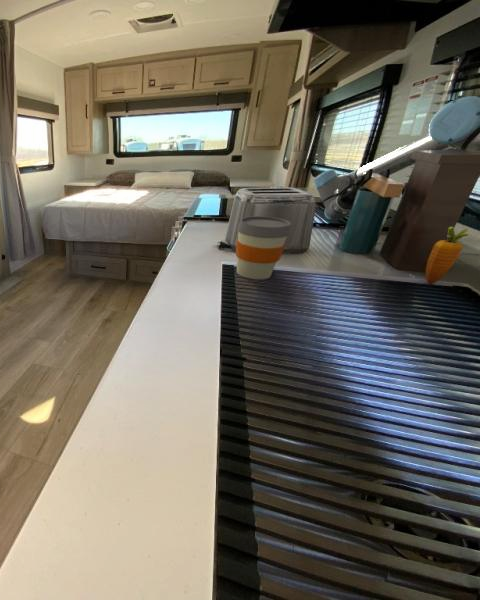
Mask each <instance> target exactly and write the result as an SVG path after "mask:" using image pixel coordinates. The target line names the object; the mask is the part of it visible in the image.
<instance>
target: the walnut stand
mask: <svg viewBox="0 0 480 600" xmlns="http://www.w3.org/2000/svg"><path fill="white" fill-rule="evenodd" d="M411 158H412V159H417V160H416V162H415V164H414V165H413V166H412V167H413V168H412V170H411V173H410V174H409V178H408V180H407V182H406V185H405V188H404V189H403V193H402V194H401V198H400V200H399V202H398V206H397V207H396V211H395V213H394V216H393V217H392V221H391V223H390V224H389V225H390V226H389V228H388V231H387V233H386V236H385V238H384V241H383V243H382V246H381V248H380V251H379V255H380V256H381V257H382V258H383V259H384V260H385V261H386V262H388V263H389V265H390V266H392V268H394V269H395V270H400V271H411V272H420V273H421V272H422V273H426V266H427V262H428V259H429V256H430V254H431V251H432V249H433V247H434V245H435V244H436V243H437V242H438V241H441V240H447V239H448V238H447V236H448V229H449V227H454V228H455V227H456V225H457V224H458V221H459V219H460V218H461V216H462V213H463V211H464V209H465V207H466V204H467V203H468V201H469V199H470V196H471V194H472V193H473V190H474V189H475V187H476V184H477V182H478V180H479V178H480V152H474V151H466V150H460V149H448V150H420V151H414V152H413V154H412V157H411Z"/></svg>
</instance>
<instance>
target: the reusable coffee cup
mask: <svg viewBox="0 0 480 600" xmlns="http://www.w3.org/2000/svg"><path fill="white" fill-rule="evenodd" d="M290 224H291V223H290V222H289V221H287V220H284V219H280V218H275V217H266V216H251V217H244V218H242V219H241V220H240V222H239V226H238V229H237V230H238V239H237V240H236V251H235V256H236V273H237V274H238V276H241V277H243V278H246V279H249V280H250V279H251V280H267V279H269V278H271V277H272V274H273V272H274V269H275V267H276V264H277V262H279V261H280V259H281V256H282V254H283V253H284V251H283V249H284V247H285V243H284V242H285V240H286V237H287V236H288V235H289V231H290Z"/></svg>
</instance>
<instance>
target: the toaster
mask: <svg viewBox="0 0 480 600" xmlns="http://www.w3.org/2000/svg"><path fill="white" fill-rule="evenodd" d="M319 209H320V206H319V205H318V204H317V198H316V197H315V196H314V195H313V194H311V193H310V192H308V191H305V190H302V189H299V188H296V187H243V188H239V189H238V190H237V192H236V193H235V195H234V198H233V203H232V207H231V210H230V216H229V220H228V224H227V229H226V233H225V242H224V241H223V240H220V241H217V243H218V244H217V245H216V247H218V249H223V250H225V249H228V250H233V251H234V252H236V240H237V239H238V230H237V229H238V226H239V222H240V220H241V219H242V218H244V217H251V216H266V217H275V218H280V219H284V220H287V221H289V222H290V223H291V224H290V231H289V235H288V236H287V237H286V240H285V242H284V243H285V247H284V249H283V252H287V253H290V254H301V255H302V254H304V253H306V252H307V251H308V249H309V248H310V246H311V240H312V239H311V238H312V233H313V227H314V220H315V214H316V211H317V210H319Z"/></svg>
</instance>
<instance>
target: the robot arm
mask: <svg viewBox="0 0 480 600" xmlns="http://www.w3.org/2000/svg"><path fill="white" fill-rule="evenodd" d="M452 146H453V147H452ZM456 148H458V149H456ZM420 150H466V151H474V152H480V96H477V95H476V96H475V95H469V96H464V97H463V96H462V97H460V98H457V99H453V100H451V101H449V102H448V103H446V104H444V105H443V106H442V107H441V108H439V109H438V110H437V111H436V112H435V114H434V115H433V117H432V118H431V120H430V122H429V126H428V134H425V135H424V136H422V137H420V138H418V139H416V140H414V141H412V142H410V143H408V144H406V145H403V146H402V147H399V148H398V149H395V150H394V151H391V152H389V153H388V154H386V155H384V156H381V157H380V158H377V159H375V160H373V161H372V162H369V163H367V164H366V165H363V166H362V167H359V168H358V169H355V170H353V171H351V172H349V173H347V174H340V175H338V173H337V172H336V170H334V169H329V170H326V171H323V172H322V173H320V174H318V175H316V176H315V178H314V179H313V182H314V185H315V189H316V191H317V193H318V194H319V196H320V199H321V200H322V201H321V202H322V203H323V206H324V208H325V209H324V212H323V213H324V217H325V218H326V219H327V220H329V221H332V222H336V221H340V220H342V219H344V218H346V217H347V216H348V215H350V212H351V209H352V206H353V203H354V200H355V197H356V194H357V191H358V189H360V188H365V187H364V186H363V185H364V184H365V183H366V182H367V181H368V180H370V179H371V178H372V173H376V174H379V175H382V176H384V177H387V178H389V179H390V176H392V175H394V174H396V173H398V172H401V171H403V170H405V169H407V168H410V167H413V166H414V165H415V162H416V160H417V159H412V158H411V157H412V154H413V152H414V151H420ZM362 173H365V174H364V175H363V176H362Z"/></svg>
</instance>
